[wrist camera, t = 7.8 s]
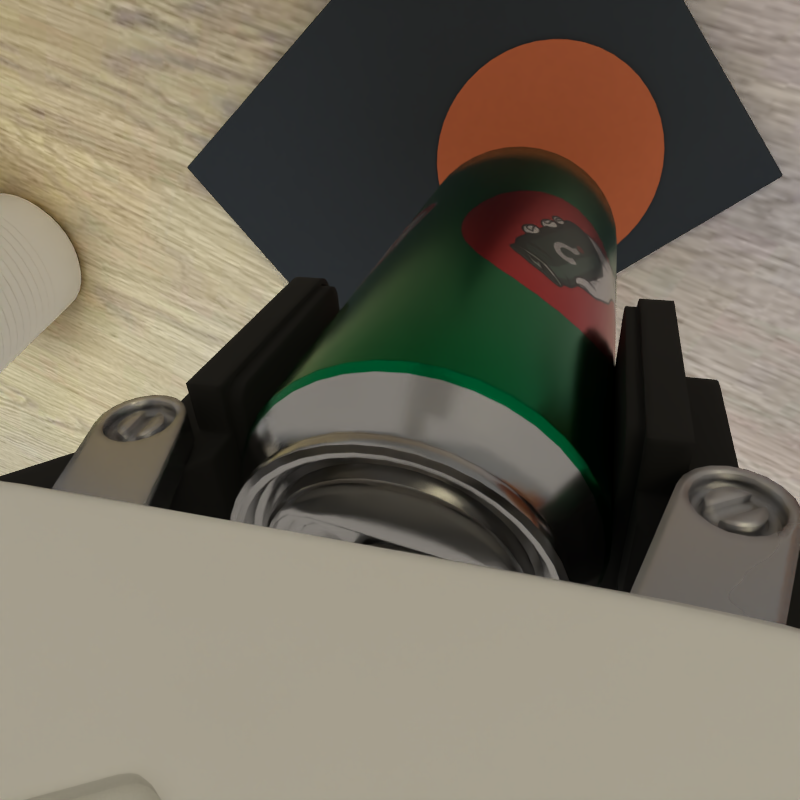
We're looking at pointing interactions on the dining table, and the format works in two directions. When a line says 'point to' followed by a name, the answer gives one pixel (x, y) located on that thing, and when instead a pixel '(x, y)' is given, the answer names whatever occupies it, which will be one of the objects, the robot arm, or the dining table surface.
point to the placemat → (478, 123)
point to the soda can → (462, 385)
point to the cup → (32, 274)
